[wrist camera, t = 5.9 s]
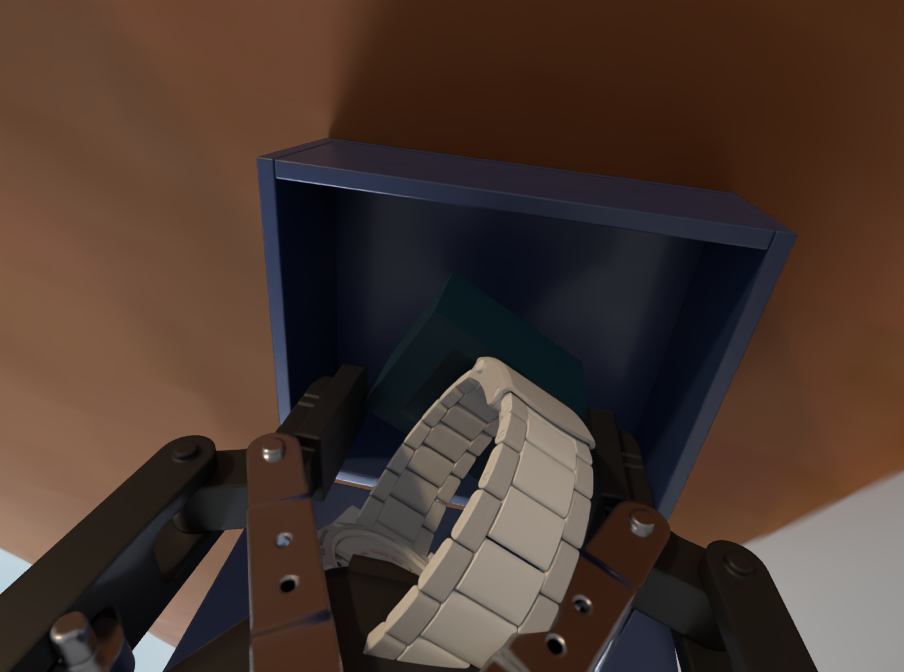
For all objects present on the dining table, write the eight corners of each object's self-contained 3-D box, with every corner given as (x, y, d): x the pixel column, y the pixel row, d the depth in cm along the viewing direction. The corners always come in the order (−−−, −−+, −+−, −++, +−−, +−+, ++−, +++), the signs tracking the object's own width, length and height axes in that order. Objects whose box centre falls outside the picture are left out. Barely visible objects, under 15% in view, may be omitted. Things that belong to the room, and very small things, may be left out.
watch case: (326, 137, 20) (255, 156, 15) (734, 192, 19) (799, 233, 14) (332, 396, 27) (282, 468, 22) (636, 455, 25) (656, 547, 20)
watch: (365, 389, 19) (188, 701, 10) (484, 229, 15) (382, 486, 6) (480, 463, 20) (419, 817, 11) (620, 329, 16) (723, 695, 7)
